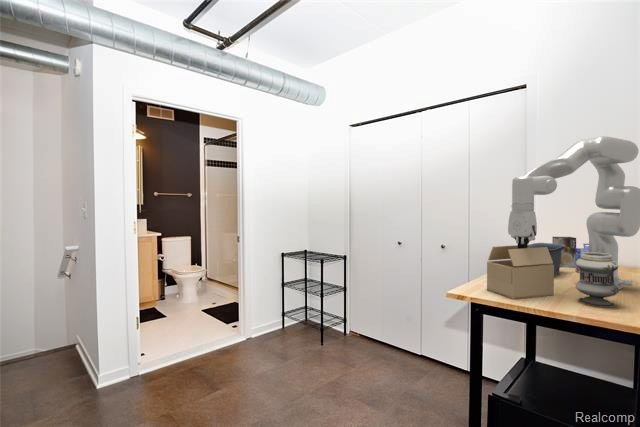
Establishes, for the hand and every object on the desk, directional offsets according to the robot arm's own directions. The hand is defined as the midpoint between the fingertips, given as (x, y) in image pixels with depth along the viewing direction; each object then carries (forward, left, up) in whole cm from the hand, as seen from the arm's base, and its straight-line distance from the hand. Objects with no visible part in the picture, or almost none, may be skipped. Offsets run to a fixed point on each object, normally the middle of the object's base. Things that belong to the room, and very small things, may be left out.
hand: (522, 253), depth 135 cm
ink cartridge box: (-14, -62, -16) cm, 65 cm away
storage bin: (+3, -44, -16) cm, 48 cm away
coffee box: (-2, -73, -16) cm, 75 cm away
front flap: (-3, +2, -1) cm, 4 cm away
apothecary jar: (-23, -4, -16) cm, 28 cm away
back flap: (+6, -3, -1) cm, 7 cm away
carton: (+1, -1, -16) cm, 16 cm away
